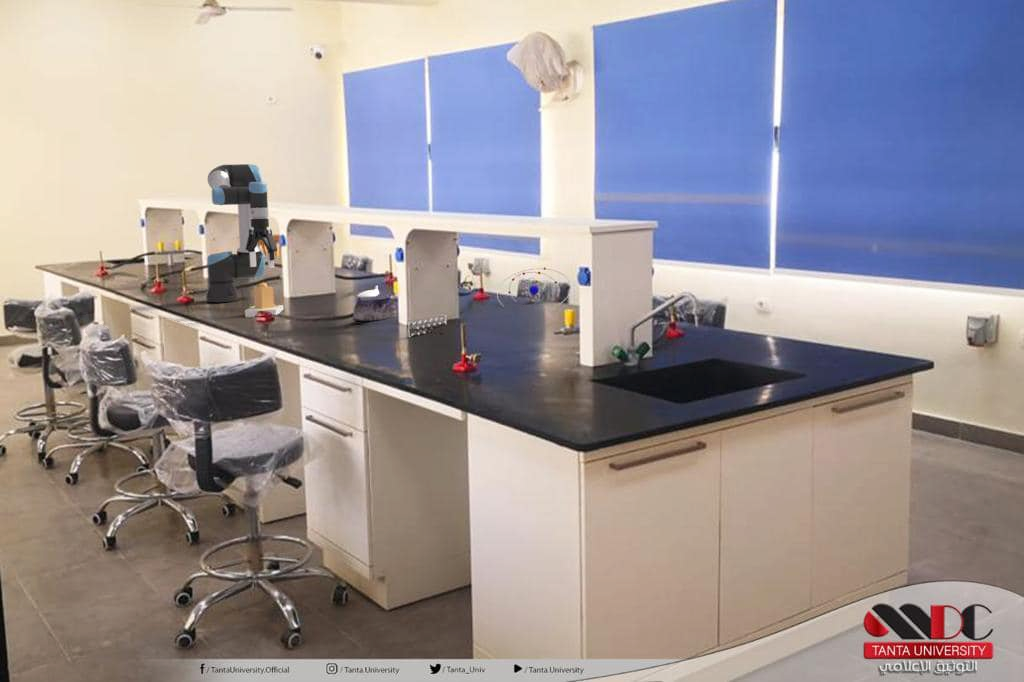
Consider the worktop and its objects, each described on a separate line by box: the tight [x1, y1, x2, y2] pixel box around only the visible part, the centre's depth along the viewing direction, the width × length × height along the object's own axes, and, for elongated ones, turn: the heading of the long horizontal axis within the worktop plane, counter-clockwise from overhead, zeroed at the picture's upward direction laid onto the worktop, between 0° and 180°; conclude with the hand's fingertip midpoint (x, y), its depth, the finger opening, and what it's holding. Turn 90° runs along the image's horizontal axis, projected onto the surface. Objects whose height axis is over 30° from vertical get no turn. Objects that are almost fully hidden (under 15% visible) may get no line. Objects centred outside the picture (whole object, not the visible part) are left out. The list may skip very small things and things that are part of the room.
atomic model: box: [496, 267, 572, 307], centre depth 433 cm, size 28×21×30 cm
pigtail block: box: [244, 304, 284, 318], centre depth 435 cm, size 18×13×7 cm
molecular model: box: [406, 314, 448, 338], centre depth 377 cm, size 25×9×6 cm, turn 147°
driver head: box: [356, 285, 380, 298], centre depth 478 cm, size 10×11×12 cm
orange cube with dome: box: [253, 282, 275, 309], centre depth 434 cm, size 6×6×11 cm
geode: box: [352, 297, 398, 322], centre depth 407 cm, size 20×12×10 cm, turn 143°
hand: (262, 267), depth 432 cm, fingers open, 13 cm apart
